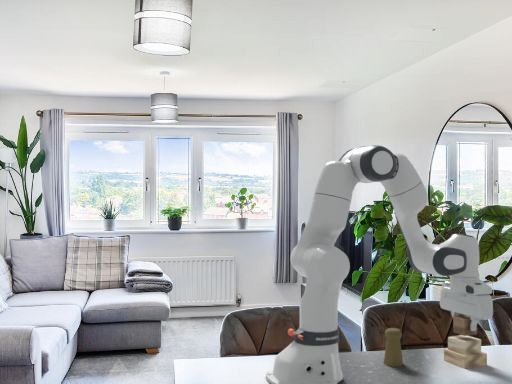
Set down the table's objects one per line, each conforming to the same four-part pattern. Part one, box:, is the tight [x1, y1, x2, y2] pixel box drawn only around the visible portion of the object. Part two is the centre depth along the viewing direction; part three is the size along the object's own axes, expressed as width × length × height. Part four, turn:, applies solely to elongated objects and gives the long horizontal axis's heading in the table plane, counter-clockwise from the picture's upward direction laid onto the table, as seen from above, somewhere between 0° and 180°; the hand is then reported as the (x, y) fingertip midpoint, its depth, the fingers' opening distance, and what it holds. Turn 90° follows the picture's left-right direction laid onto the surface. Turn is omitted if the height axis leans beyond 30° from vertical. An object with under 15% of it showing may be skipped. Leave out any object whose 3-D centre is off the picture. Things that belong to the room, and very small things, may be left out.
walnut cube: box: [452, 315, 478, 336], centre depth 175 cm, size 5×5×5 cm
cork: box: [383, 327, 404, 368], centre depth 174 cm, size 6×6×11 cm
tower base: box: [443, 348, 488, 369], centre depth 175 cm, size 9×9×4 cm
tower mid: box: [447, 334, 482, 355], centre depth 175 cm, size 7×7×4 cm
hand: (464, 328), depth 175 cm, fingers closed on walnut cube, 5 cm apart
